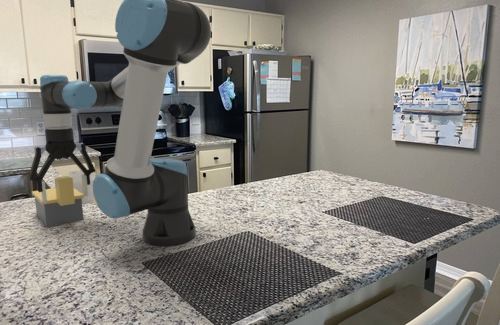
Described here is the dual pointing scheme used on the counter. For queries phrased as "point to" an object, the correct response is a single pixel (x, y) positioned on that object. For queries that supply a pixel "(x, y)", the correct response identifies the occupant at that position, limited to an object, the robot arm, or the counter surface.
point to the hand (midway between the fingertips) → (65, 198)
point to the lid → (60, 192)
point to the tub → (59, 212)
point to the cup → (78, 185)
